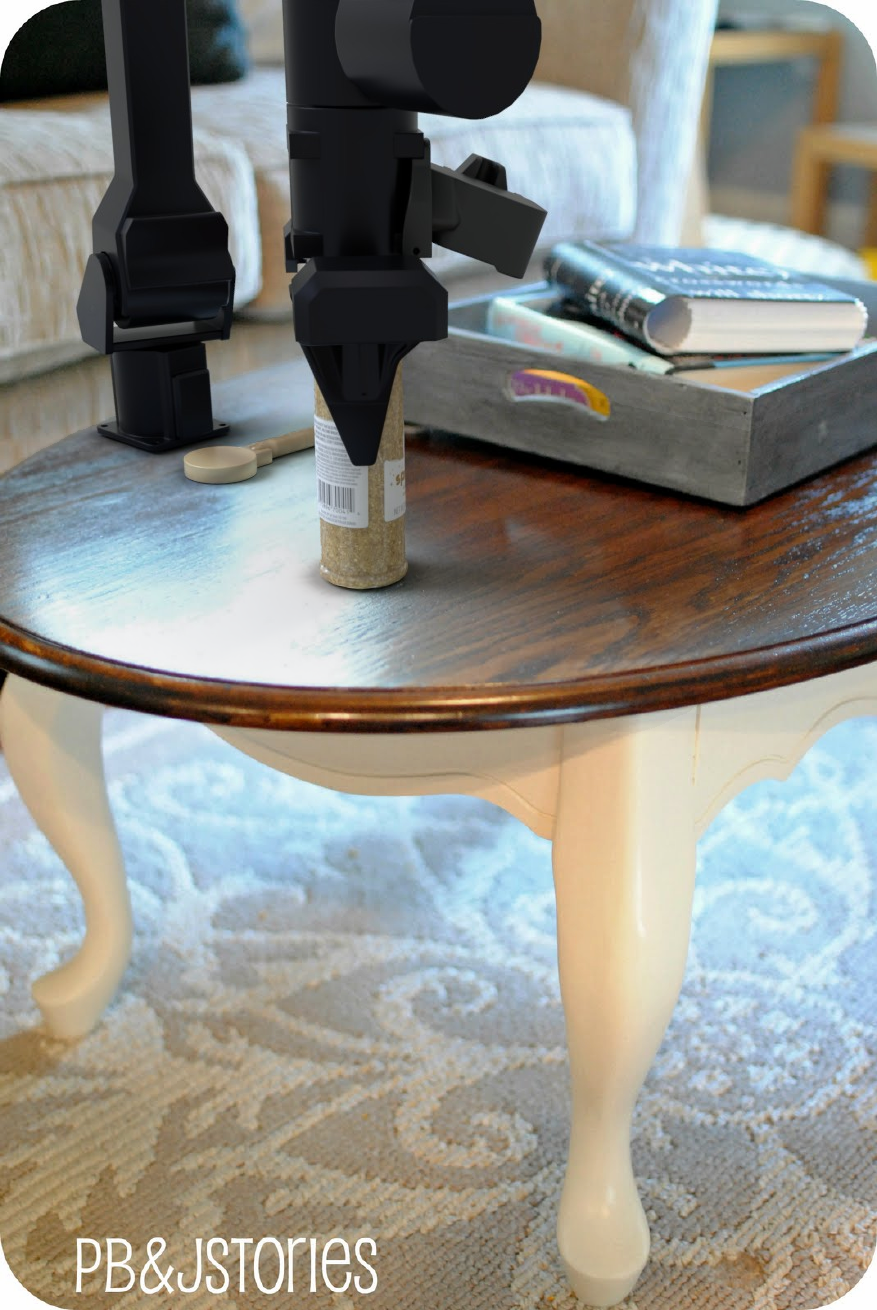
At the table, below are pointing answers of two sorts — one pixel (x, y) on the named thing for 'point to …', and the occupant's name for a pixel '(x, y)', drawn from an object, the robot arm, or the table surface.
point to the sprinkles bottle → (361, 501)
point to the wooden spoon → (242, 457)
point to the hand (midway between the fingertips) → (360, 450)
